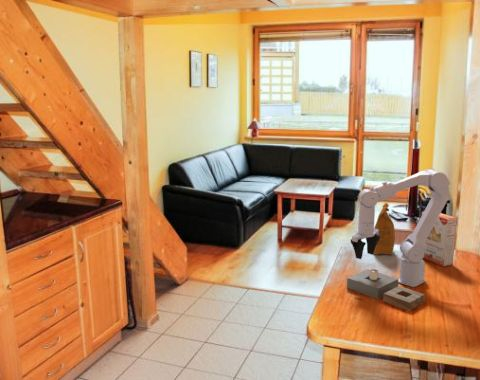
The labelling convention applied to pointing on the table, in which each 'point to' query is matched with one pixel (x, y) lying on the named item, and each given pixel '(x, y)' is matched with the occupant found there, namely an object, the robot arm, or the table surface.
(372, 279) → the metal peg
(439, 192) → the robot arm
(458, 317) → the table surface
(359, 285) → the grey square hole plate
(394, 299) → the socket block
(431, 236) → the cracker box
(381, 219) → the coffee package
